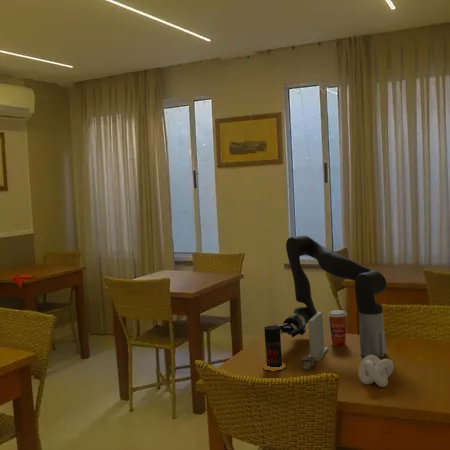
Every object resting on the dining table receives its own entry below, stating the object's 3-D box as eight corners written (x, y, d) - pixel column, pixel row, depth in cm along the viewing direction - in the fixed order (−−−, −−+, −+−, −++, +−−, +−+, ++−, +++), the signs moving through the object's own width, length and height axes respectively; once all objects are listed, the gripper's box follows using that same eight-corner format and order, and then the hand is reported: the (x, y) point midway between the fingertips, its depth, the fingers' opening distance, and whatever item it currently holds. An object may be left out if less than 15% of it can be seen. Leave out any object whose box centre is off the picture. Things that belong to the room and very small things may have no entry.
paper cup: (328, 346, 239) (327, 314, 238) (330, 341, 246) (329, 309, 245) (347, 347, 237) (346, 314, 236) (349, 341, 244) (347, 309, 243)
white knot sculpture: (350, 384, 194) (349, 359, 193) (369, 374, 202) (368, 350, 202) (380, 392, 186) (379, 365, 185) (398, 381, 194) (397, 356, 194)
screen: (328, 349, 234) (326, 312, 233) (318, 361, 221) (316, 321, 220) (316, 349, 236) (314, 311, 235) (306, 360, 223) (304, 320, 222)
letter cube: (315, 367, 214) (314, 357, 214) (312, 371, 210) (311, 360, 210) (305, 366, 216) (304, 356, 216) (301, 370, 212) (301, 359, 212)
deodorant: (264, 365, 218) (261, 327, 217) (277, 362, 221) (274, 324, 220) (271, 369, 213) (269, 330, 212) (285, 366, 215) (282, 327, 214)
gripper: (278, 314, 243) (265, 324, 229) (310, 315, 237) (298, 325, 223) (279, 331, 244) (266, 342, 229) (310, 333, 238) (299, 344, 223)
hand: (282, 334), depth 226 cm, fingers open, 8 cm apart
